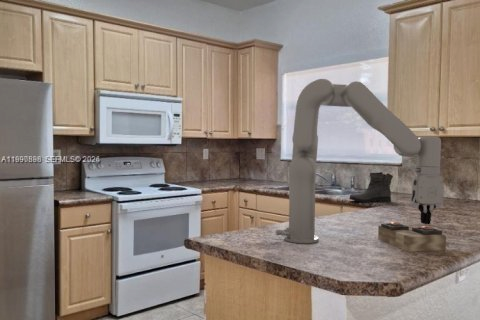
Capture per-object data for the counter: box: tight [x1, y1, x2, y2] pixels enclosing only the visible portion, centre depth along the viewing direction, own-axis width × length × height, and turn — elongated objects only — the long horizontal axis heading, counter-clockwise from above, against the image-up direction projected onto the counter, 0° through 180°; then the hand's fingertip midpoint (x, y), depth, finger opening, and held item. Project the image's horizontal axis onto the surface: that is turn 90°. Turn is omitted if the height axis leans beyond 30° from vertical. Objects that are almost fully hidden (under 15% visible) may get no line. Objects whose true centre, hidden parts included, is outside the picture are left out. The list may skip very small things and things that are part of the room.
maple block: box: [377, 222, 447, 253], centre depth 155 cm, size 14×20×6 cm
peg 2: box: [420, 225, 434, 231], centre depth 151 cm, size 4×4×7 cm
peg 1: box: [388, 221, 401, 227], centre depth 158 cm, size 4×4×7 cm
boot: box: [349, 171, 394, 203], centre depth 275 cm, size 10×29×19 cm, turn 105°
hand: (425, 223), depth 151 cm, fingers closed
